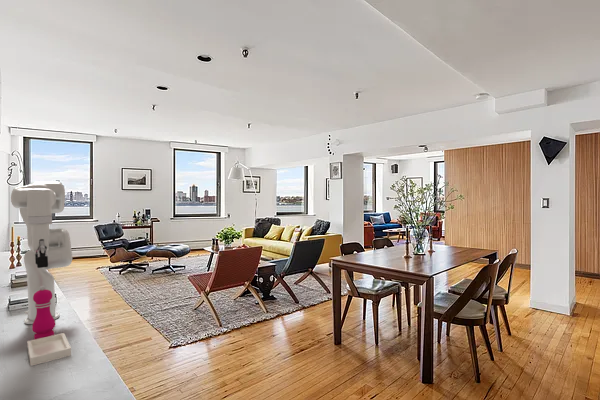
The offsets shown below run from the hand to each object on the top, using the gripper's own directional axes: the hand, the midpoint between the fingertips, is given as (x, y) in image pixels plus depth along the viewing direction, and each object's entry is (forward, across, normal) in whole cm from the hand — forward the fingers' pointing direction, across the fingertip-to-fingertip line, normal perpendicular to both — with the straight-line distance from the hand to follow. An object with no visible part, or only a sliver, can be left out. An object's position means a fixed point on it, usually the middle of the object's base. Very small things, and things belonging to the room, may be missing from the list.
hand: (41, 265), depth 135 cm
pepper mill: (+28, 0, 0) cm, 28 cm away
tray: (+28, +16, 0) cm, 32 cm away
